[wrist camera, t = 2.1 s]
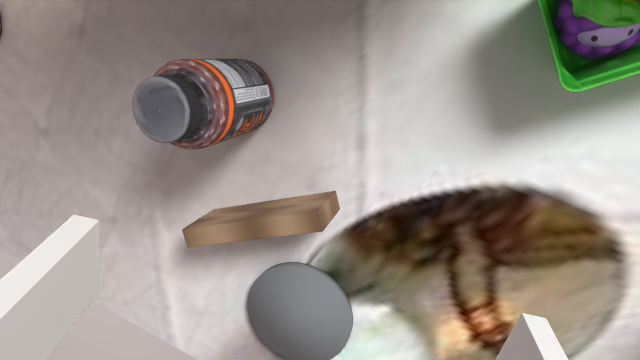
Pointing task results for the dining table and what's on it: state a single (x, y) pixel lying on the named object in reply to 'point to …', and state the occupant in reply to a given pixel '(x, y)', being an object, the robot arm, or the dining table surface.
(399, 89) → the dining table surface
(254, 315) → the coaster
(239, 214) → the rail
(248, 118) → the supplement bottle
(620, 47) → the fruit basket
